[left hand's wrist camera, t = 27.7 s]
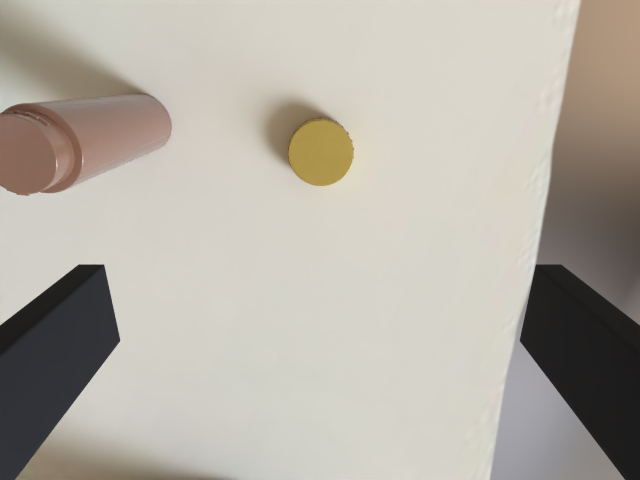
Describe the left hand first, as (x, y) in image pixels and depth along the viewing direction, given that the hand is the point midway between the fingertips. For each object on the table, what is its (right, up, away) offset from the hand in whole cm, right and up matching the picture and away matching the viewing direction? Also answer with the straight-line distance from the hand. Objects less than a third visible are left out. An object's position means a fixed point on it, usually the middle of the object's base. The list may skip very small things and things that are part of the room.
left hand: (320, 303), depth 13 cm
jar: (-16, +13, +25) cm, 32 cm away
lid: (0, +10, +24) cm, 26 cm away
